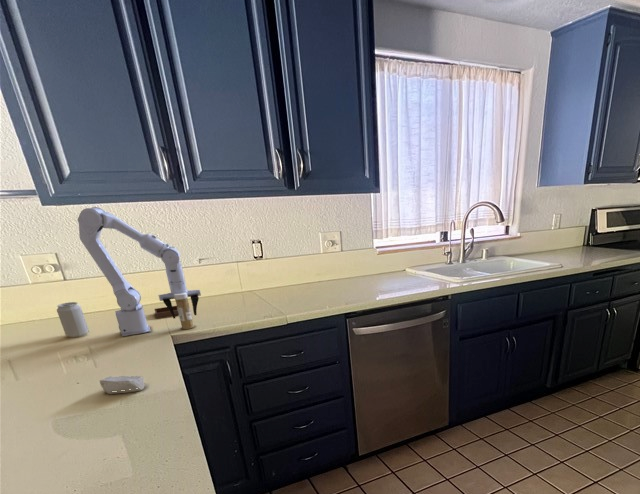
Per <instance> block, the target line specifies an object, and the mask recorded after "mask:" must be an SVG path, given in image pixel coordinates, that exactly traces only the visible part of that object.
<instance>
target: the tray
mask: <svg viewBox="0 0 640 494" xmlns="http://www.w3.org/2000/svg"><path fill="white" fill-rule="evenodd" d="M172 308H173V312H174V315H175V317H177V316H179V314H178V310H177V305H172ZM154 313H155V317H156V319H164V318H169V317H173V316H172V314H171V312H170V310H169V309H168V307H167V306H166V307H165V306H164V307H158V308H157V307H156V308H154Z"/></svg>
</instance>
